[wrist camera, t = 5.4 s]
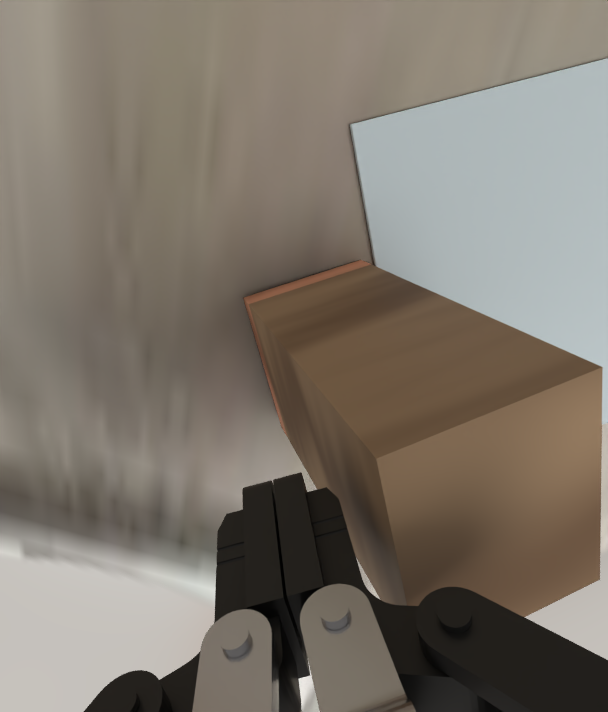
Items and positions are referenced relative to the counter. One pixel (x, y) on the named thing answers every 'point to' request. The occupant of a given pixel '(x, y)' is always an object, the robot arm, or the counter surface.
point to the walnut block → (438, 436)
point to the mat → (501, 204)
